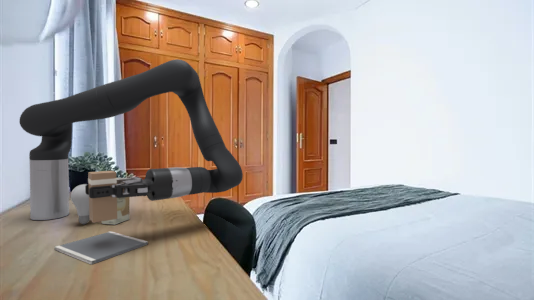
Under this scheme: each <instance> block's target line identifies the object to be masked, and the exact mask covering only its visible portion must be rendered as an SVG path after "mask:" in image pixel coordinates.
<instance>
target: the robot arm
mask: <svg viewBox="0 0 534 300" xmlns="http://www.w3.org/2000/svg"><path fill="white" fill-rule="evenodd" d="M167 93H173V94H175V95H177V97H178V98H179V99H180V101H181V103H182V104H183V106H184V108H185V109H186V113H187V114H188V117H189V120H190V124H191V129H192V132H193V133H192V134H193V137H194V139H195V142H196V144H197V146H198V148H199V151H200V153H201V155H202V157H203V159H204V160H205V161H206V162H212V163H213V165H214V166H215V167H216V168H214V169H207V168H206V167H203V166H194V167H193V166H192V167H191V166H190V167H163V168H162V167H161V168H150V169H148V170H147V171H146V173H145V177H144V179H143V178H142V177H139V176H132V177H128V178H127V177H126V178H127V179H118V180H117V184H113V185H111V187H110V185H109V186H98V187H90V188H89V184H87V183H86V184H87V185H86V186H85V193H86V194H87V195H89V197H90V198H100V197H109V196H110V195H111V197H116V198H124V197H129V198H133V197H134V198H136V197H147V199H148V200H149V201H152V202H153V201H154V202H155V201H161V200H169V199H175V198H182V197H184V196H190V195H197V194H202V193H203V194H204V193H206V194H207V193H208V194H212V193H213V194H215V193H218V194H219V193H224V192H227V191H230V190H231V189H233V188H236V187H237V186H239V185H240V184H241V183H242V181H243V177H244V175H243V169H242V167H241V164H240V163H239V161H237V159H236V158H235V157H234V156H233V154H232V153H231V151H230V150H229V149H228V148H227V147H226V144H225V142H224V139H223V137H222V135H221V133H220V131H219V129H218V126H217V125H216V122H215V121H214V118H213V116H212V114H211V112H210V110H209V106H208V104H207V101H206V99H205V94H204V92H203V88H202V84H201V79H200V76H199V74H198V72H197V71H196V70H195V68H193V66H192V65H190V63H188V62H187V61H186V60H183V59H179V58H178V59H170V60H168V61H165V62H163V63H161V64H159V65H157V66H154V67H152V68H150V69H148V70H146V71H145V70H144V71H143V72H141V73H138V74H135V75H130V76H128V77H125V78H122V79H119V80H116V81H111V82H108V83H105V84H104V83H103V84H102V85H98V86H96V87H94V88H93V87H92V88H91V89H87V90H84V91H81V92H78V93H75V94H73V95H70V96H67V97H64V98H61V99H56V100H55V99H54V100H52V101H45V102H40V103H36V104H32V105H30V106H28V107H26V108H25V109H24V110H23V111H22V113H21V114H20V117H19V125H20V127H21V128H22V130H23V131H24V132H25V133H27V134H30V135H32V136H36V137H41V141H40V143H39V145H38V146H36V147H34V148H32V149H31V150H29V194H30V195H29V198H30V205H29V206H30V213H29V214H30V219H31V220H33V221H46V220H54V219H55V220H56V219H60V218H64V217H66V216H69V215H70V189H69V188H70V187H69V185H70V184H69V182H70V181H69V179H70V178H69V175H70V173H69V171H70V170H69V154H70V152H71V149H72V143H73V142H72V137H73V124H74V123H80V122H90V121H97V120H103V119H109V118H113V117H116V116H120V115H122V114H126V113H128V112H131V111H132V110H134V109H136V108H137V107H138V106H139V105H141V104H142V103H144V102H145V101H146V100H148V99H149V98H152V97H155V96H158V95H162V94H167Z"/></svg>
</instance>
